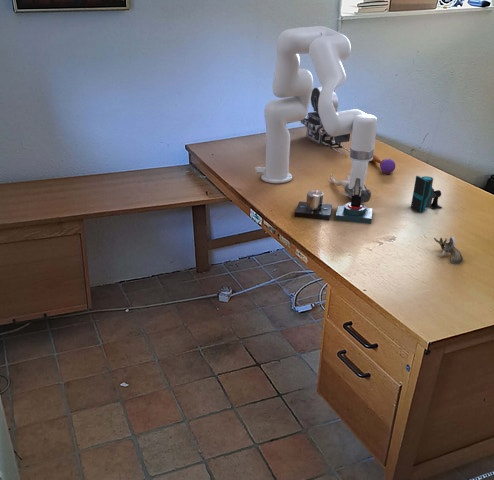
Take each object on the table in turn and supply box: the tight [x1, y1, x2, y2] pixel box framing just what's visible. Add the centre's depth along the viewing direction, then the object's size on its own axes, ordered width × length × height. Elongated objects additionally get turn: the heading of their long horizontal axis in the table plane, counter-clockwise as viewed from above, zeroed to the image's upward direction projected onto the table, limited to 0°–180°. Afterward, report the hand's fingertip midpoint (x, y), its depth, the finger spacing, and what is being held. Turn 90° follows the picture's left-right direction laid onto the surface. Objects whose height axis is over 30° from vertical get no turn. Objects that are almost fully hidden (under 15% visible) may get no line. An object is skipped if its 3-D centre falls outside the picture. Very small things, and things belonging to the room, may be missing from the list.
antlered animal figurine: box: [433, 235, 464, 265], centre depth 166 cm, size 8×7×9 cm
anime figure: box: [329, 173, 372, 204], centre depth 210 cm, size 10×7×30 cm
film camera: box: [300, 86, 351, 155], centre depth 261 cm, size 40×12×24 cm, turn 17°
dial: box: [305, 189, 324, 211], centre depth 195 cm, size 6×6×6 cm
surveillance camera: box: [410, 175, 443, 214], centre depth 196 cm, size 6×12×10 cm
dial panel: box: [294, 201, 334, 221], centre depth 197 cm, size 12×10×2 cm
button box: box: [334, 202, 374, 225], centre depth 193 cm, size 12×9×4 cm
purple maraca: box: [370, 152, 396, 175], centre depth 236 cm, size 6×6×20 cm
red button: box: [348, 204, 362, 210], centre depth 192 cm, size 4×4×2 cm
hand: (355, 205), depth 192 cm, fingers closed
